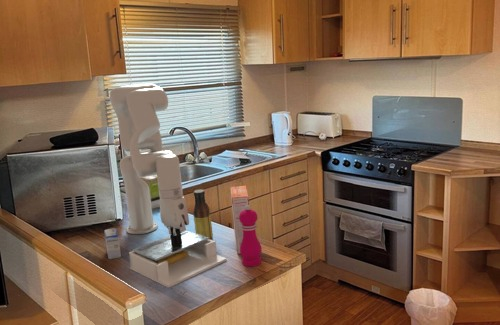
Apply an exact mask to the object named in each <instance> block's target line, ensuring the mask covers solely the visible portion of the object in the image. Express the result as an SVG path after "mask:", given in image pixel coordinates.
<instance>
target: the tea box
mask: <svg viewBox="0 0 500 325" xmlns="http://www.w3.org/2000/svg"><path fill="white" fill-rule="evenodd" d="M141 179H142V180H143V181H145V182H146V183H147V184H148V186H149V191H150V199H151V207H152V210H153V209H156V208H160V196H159V188H158V179H157V175H152V176H147V177H142V178H141Z"/></svg>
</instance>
